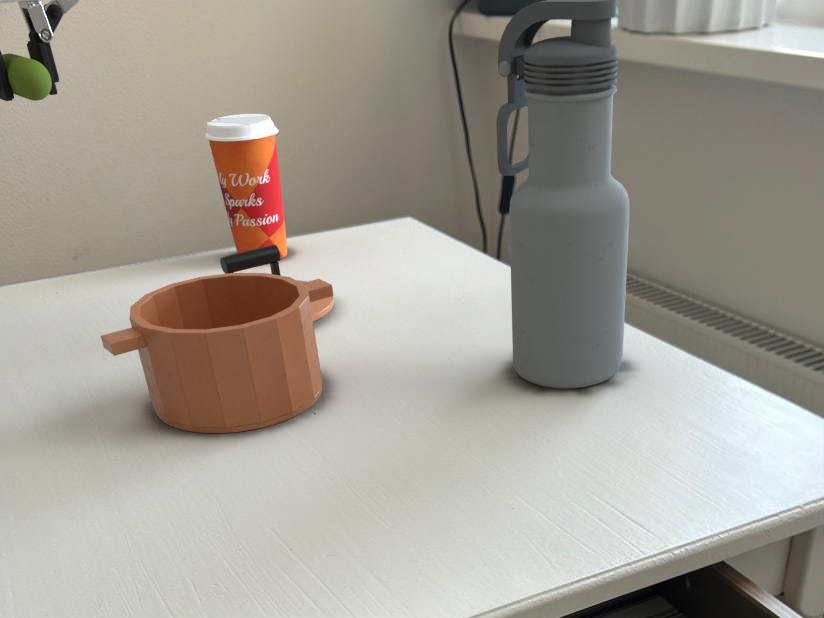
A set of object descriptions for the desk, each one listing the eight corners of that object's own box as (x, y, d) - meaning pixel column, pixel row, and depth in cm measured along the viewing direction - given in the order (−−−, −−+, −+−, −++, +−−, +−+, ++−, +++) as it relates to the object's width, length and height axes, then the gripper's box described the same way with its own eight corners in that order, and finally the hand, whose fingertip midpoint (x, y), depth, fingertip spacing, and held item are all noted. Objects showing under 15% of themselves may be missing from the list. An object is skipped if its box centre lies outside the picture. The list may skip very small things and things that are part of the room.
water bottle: (489, 379, 87) (474, 6, 70) (540, 342, 93) (537, -8, 76) (593, 399, 83) (604, 6, 65) (639, 358, 89) (660, -9, 72)
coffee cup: (217, 265, 118) (189, 127, 109) (246, 245, 124) (221, 112, 115) (282, 267, 116) (258, 126, 107) (308, 246, 122) (287, 112, 113)
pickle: (61, 99, 86) (50, 58, 84) (24, 104, 85) (12, 62, 83) (30, 89, 92) (19, 50, 90) (-5, 94, 90) (-17, 54, 88)
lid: (362, 315, 102) (354, 250, 98) (224, 354, 95) (210, 286, 91) (291, 280, 112) (281, 220, 108) (162, 314, 105) (147, 251, 101)
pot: (379, 389, 86) (367, 293, 81) (165, 460, 77) (137, 357, 72) (300, 344, 96) (285, 255, 91) (101, 403, 87) (72, 307, 82)
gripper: (42, -166, 83) (101, 80, 94) (-171, -163, 76) (-79, 104, 87) (71, -172, 78) (130, 88, 90) (-152, -169, 71) (-58, 114, 82)
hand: (27, 93), depth 88 cm, fingers closed on pickle, 3 cm apart
